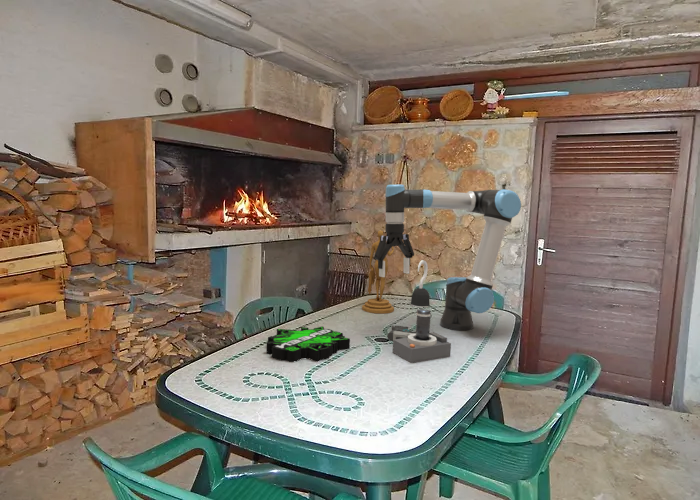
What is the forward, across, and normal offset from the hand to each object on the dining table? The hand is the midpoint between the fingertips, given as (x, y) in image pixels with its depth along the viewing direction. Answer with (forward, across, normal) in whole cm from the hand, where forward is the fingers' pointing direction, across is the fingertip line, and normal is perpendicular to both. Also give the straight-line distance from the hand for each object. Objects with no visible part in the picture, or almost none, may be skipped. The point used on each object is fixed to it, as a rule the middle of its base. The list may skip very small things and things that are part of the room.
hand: (394, 275), depth 192 cm
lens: (+22, +4, +20) cm, 30 cm away
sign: (+26, +38, -11) cm, 47 cm away
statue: (+27, -27, -42) cm, 56 cm away
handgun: (+28, -8, +4) cm, 29 cm away
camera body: (+28, +4, +19) cm, 34 cm away
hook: (+28, -55, -38) cm, 72 cm away
